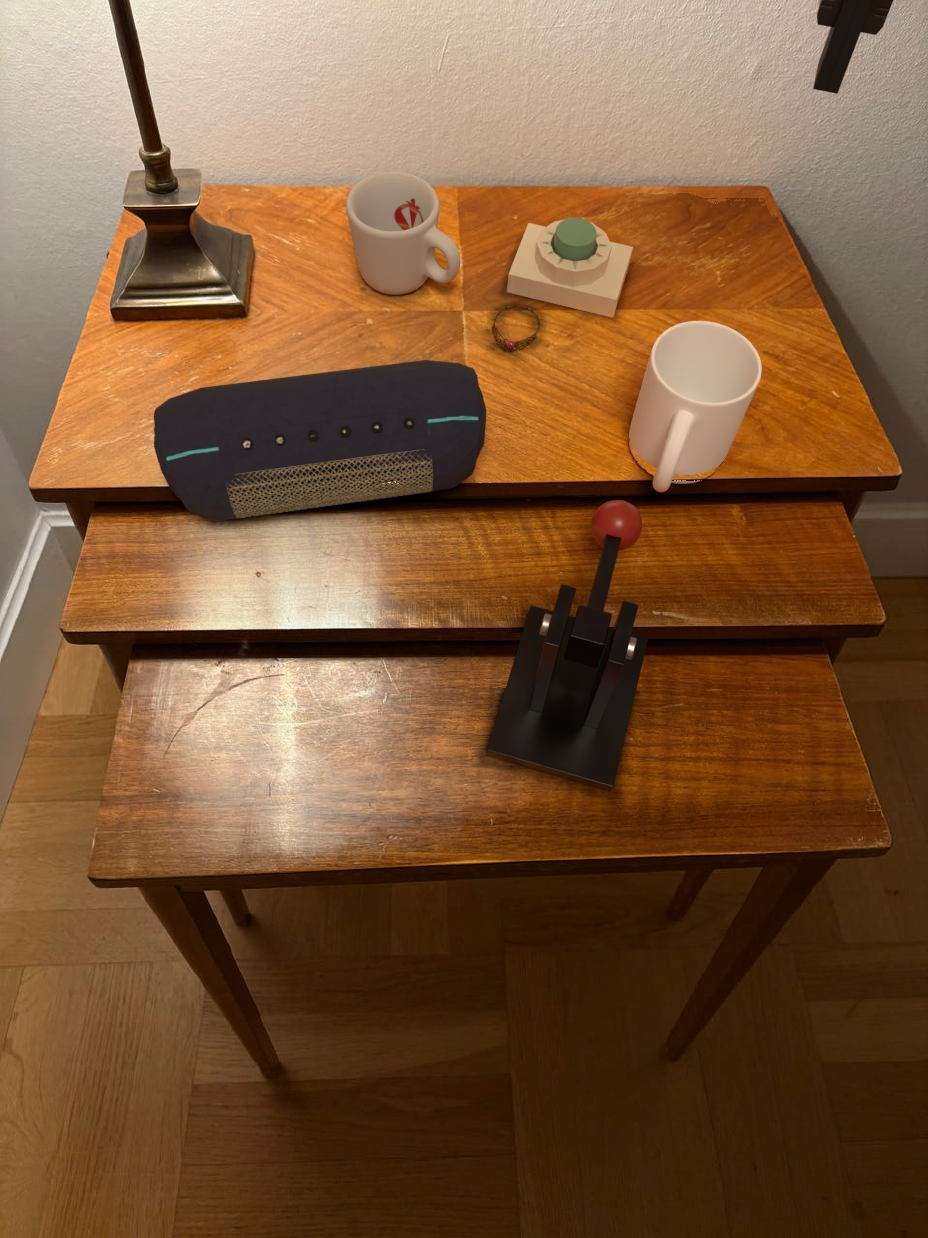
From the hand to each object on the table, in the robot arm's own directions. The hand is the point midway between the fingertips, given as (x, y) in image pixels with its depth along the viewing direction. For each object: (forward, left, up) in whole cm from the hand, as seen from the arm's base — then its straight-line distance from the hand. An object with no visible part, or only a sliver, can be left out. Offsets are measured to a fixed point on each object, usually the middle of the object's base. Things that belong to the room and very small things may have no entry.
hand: (827, 77), depth 60 cm
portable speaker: (+28, +19, -28) cm, 44 cm away
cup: (+29, -4, -28) cm, 41 cm away
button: (+15, -9, -24) cm, 30 cm away
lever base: (+5, +32, -28) cm, 43 cm away
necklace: (+18, -1, -28) cm, 33 cm away
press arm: (+5, +27, -21) cm, 35 cm away
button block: (+15, -9, -28) cm, 33 cm away
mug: (+2, +9, -28) cm, 30 cm away
